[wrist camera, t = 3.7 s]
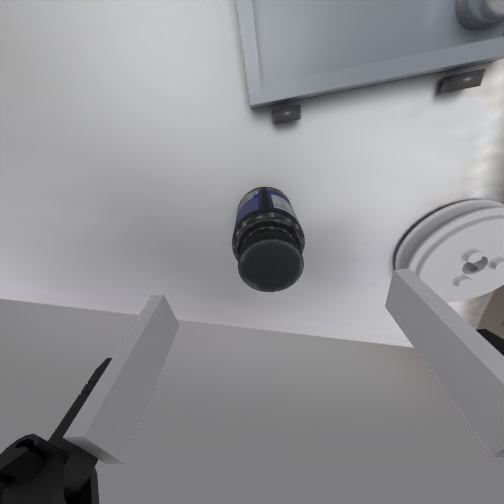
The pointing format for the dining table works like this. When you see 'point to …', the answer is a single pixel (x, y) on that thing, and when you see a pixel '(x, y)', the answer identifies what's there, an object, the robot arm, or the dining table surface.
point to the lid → (458, 250)
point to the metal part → (478, 12)
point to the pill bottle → (268, 241)
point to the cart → (355, 47)
